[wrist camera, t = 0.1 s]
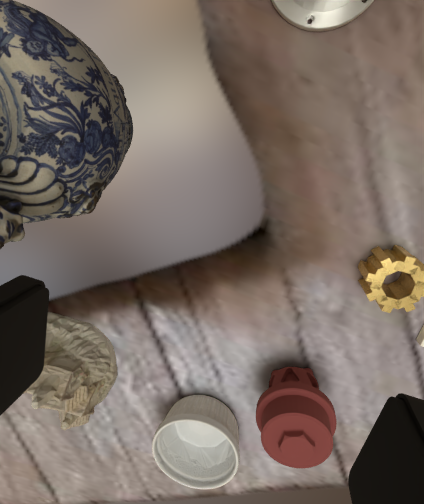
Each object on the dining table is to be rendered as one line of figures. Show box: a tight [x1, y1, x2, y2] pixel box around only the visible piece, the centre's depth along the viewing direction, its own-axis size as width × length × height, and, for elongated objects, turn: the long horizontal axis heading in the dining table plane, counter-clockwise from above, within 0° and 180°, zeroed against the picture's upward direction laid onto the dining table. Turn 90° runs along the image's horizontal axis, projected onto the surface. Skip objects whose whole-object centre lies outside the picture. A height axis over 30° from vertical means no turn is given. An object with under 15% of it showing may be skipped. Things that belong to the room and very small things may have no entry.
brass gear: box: [358, 245, 424, 313], centre depth 42 cm, size 7×7×4 cm
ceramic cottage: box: [23, 312, 117, 430], centre depth 52 cm, size 16×16×15 cm
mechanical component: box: [256, 367, 336, 468], centre depth 45 cm, size 12×10×10 cm
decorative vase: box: [0, 0, 133, 249], centre depth 32 cm, size 21×19×28 cm
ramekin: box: [152, 395, 240, 489], centre depth 54 cm, size 13×13×7 cm
